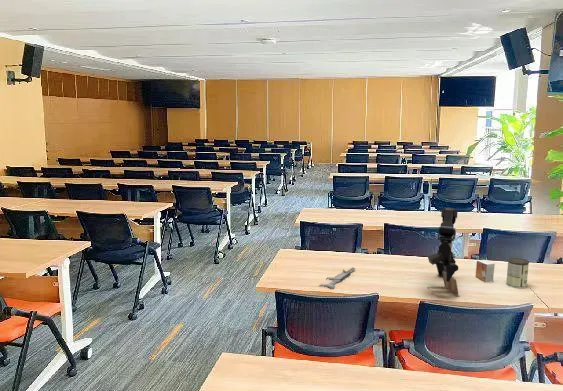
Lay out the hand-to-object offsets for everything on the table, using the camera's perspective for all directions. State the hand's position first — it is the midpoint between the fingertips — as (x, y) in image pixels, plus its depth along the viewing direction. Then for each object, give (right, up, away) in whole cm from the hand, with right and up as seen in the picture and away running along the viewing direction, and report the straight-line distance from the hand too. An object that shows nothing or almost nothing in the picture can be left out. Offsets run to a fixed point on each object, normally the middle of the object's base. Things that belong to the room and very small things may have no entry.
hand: (443, 278), depth 252 cm
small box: (+30, -5, +23) cm, 38 cm away
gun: (-51, -5, +25) cm, 57 cm away
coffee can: (+45, -6, +15) cm, 47 cm away
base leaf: (0, -8, +1) cm, 8 cm away
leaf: (+5, -3, +1) cm, 6 cm away
